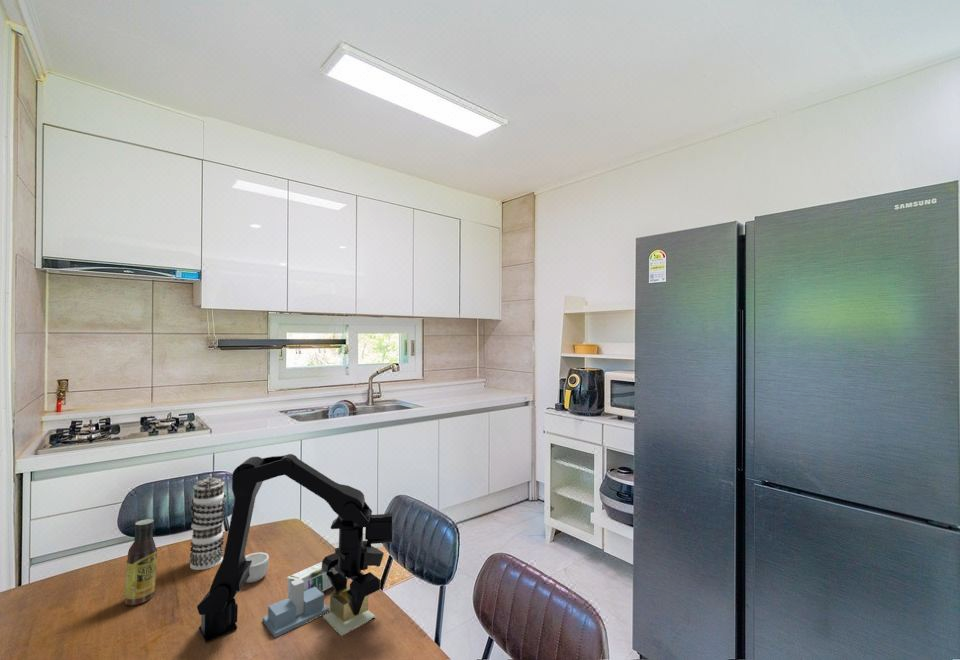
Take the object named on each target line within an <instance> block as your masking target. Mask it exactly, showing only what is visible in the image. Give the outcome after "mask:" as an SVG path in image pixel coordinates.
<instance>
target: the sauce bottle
mask: <svg viewBox="0 0 960 660" xmlns="http://www.w3.org/2000/svg"><path fill="white" fill-rule="evenodd" d="M154 526H155V520H154V519H152V518H147V519H141V520H138V521H137V522H135V523H134V527H133V528H134V530H135V531H134V537H133V538H134V540H133V543H132V544H131V546H130V547H129V550H127V551H128V552H127V561H126V567H125V568H126V569H125V582H124V595H123V596H124V604H125V605H127V606H137V605H140V604H143V603H146V602H148V601H149V600H150V599H151V598H153V597H154V595H155V591H156V590H155V589H156V577H157V576H156V575H157V560H158V550H157V549H158V548H157V547H156V546H157V545H156V542H155V540H154V537H153V536H154V534H153V533H154V529H153V528H154Z"/></svg>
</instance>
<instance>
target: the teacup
mask: <svg viewBox="0 0 960 660" xmlns="http://www.w3.org/2000/svg"><path fill="white" fill-rule="evenodd" d="M245 559H246V561H252V563H251V566H250V569H249V574H250V576H249V578H248V579H247V581H246V582H245V583H247V584H250V583H251V584H252V583H255V582H258V581H260V580H261V579H263V578H264V576H265V575H266V574H267V572H268V569H269V563H270V557H269V554H268V553H266V552H261V551H260V552H253V553H249V554H247V555H245Z"/></svg>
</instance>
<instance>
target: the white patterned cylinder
mask: <svg viewBox="0 0 960 660" xmlns="http://www.w3.org/2000/svg"><path fill="white" fill-rule="evenodd" d="M225 483H226V482H225V481H223V480H222V479H221V478H220V477H217V476H216V477H215V476H212V477H204V478H201V479H200V480H199V481H198V482H197V483H196V484H194V486H193V498H192V499H191V500H190V511H191V512H190V522H191V524H190V525H191V526H190V527H191V529H192V535H191V542H190V550H189V551H190V553H189V558H190V559H189V563H190V564H189V567H190V569H191V570H194V571H195V570H196V571H201V570H208V569H211V568H213V567H216V566H218V565H219V564H221V563H222V560H223V557H224V546H223V545H224V535H223V523H224V522H225V518H224V517H225V516H226V514H225V512H224V511H225V510H226V506H225V505H226V504H227V503H226V502H227V501H225V500H223V499H225V498H226V497H227V494H225V493H224V485H225Z"/></svg>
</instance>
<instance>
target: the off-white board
mask: <svg viewBox="0 0 960 660" xmlns="http://www.w3.org/2000/svg"><path fill="white" fill-rule="evenodd" d="M322 616H323V617H324V618H325V619H326V620H327V621H328V622H329V623H328V622H327V621H326V620H325V619H324V618H323V617H322V618H323V619H324V620H325V621H326V622H327V623H328V624H329V626H331V625H332V626H333V627H334V628H333V627H332V626H331V627H332V628H333V630H335V632H336V633H337V632H338V633H339V634H340V635H342V634H344V633H346V632H348V631H350V630H352V629H354V628H355V627H357V626H359V627H361V626H362V625H361V624H363V625H365V624H367V623H368V622H367V621H369V620H371V619H372V618H375V619H376V615H375V614H374V613H372V612H371V611H370V610H369V609H368V610H367V611H365V612H363V613H361V614H360V615H358V616H356V617H354V618H352V619H350V620H348V621H346V622H342V621H341V620H340V619H339V618H338V617H337V616H335V615H334V614H333V613H332V612H331V611H329V613H327V614H325V615H322ZM371 621H372V620H371ZM366 622H367V623H366ZM369 622H370V621H369ZM364 623H365V624H364ZM360 625H361V626H360ZM354 630H355V629H354ZM352 631H353V630H352ZM350 632H351V631H350ZM348 633H349V632H348ZM339 634H338V635H339ZM346 634H347V633H346ZM340 635H339V636H340ZM344 635H345V634H344ZM342 636H343V635H342Z"/></svg>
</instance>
